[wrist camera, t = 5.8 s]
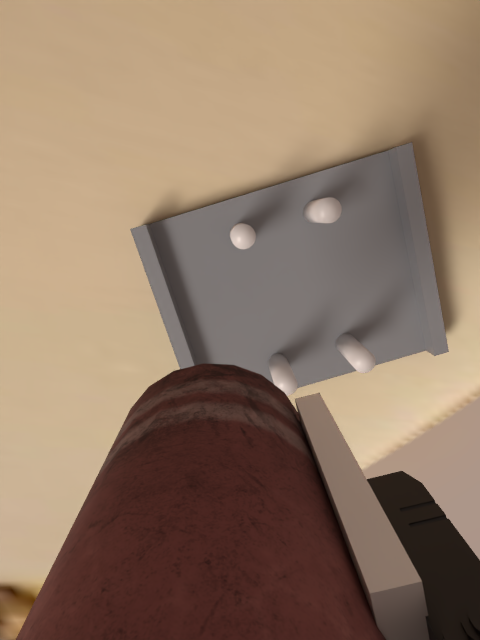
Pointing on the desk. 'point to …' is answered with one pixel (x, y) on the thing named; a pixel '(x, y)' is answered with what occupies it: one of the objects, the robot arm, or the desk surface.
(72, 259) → the desk surface
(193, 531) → the can
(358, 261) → the tray
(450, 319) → the desk surface
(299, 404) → the robot arm
